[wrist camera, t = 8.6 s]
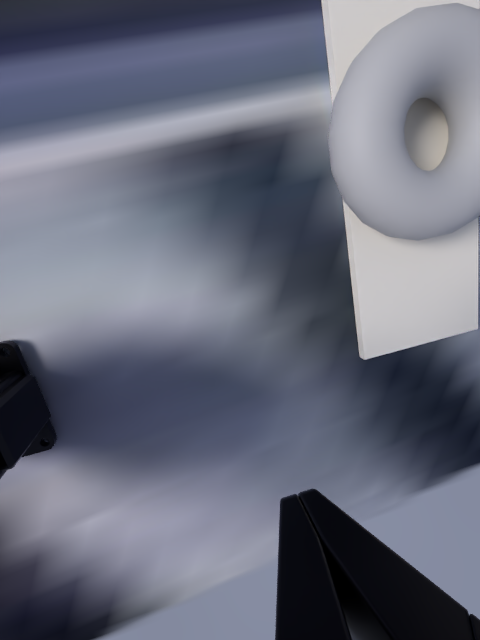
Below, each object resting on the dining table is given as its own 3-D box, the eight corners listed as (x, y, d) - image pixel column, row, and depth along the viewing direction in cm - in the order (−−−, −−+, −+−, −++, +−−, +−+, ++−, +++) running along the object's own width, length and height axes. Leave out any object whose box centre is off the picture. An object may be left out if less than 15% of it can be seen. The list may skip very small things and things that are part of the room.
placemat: (359, 356, 21) (364, 359, 20) (312, -86, 15) (317, -100, 14) (470, 326, 21) (478, 328, 21) (469, -103, 15) (480, -116, 15)
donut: (322, 23, 12) (547, -53, 13) (291, 69, 15) (471, 6, 16) (380, 272, 15) (561, 197, 16) (344, 266, 18) (494, 204, 19)
